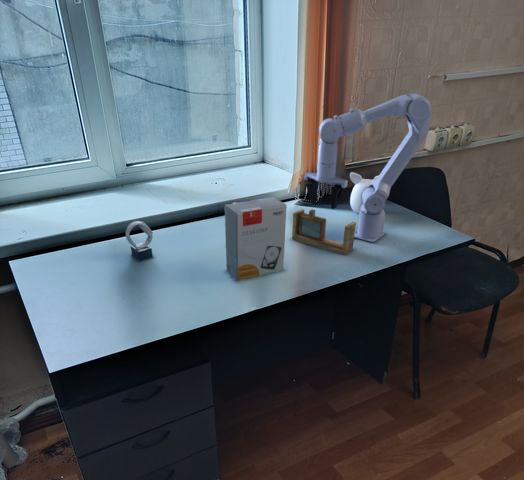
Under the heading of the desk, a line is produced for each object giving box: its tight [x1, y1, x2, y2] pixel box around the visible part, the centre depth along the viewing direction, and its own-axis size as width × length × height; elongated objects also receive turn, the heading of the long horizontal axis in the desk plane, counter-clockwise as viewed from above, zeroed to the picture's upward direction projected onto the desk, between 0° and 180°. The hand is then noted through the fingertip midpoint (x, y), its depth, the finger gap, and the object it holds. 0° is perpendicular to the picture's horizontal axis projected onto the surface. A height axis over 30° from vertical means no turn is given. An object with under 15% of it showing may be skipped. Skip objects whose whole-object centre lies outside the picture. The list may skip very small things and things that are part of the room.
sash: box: [299, 208, 324, 241], centre depth 155 cm, size 2×9×9 cm, turn 54°
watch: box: [125, 220, 154, 262], centre depth 146 cm, size 6×8×11 cm
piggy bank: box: [349, 171, 380, 215], centre depth 175 cm, size 12×12×15 cm
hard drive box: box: [224, 196, 287, 282], centre depth 136 cm, size 16×8×20 cm, turn 117°
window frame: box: [291, 208, 357, 256], centre depth 154 cm, size 5×20×9 cm, turn 54°
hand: (323, 205), depth 157 cm, fingers open, 7 cm apart
